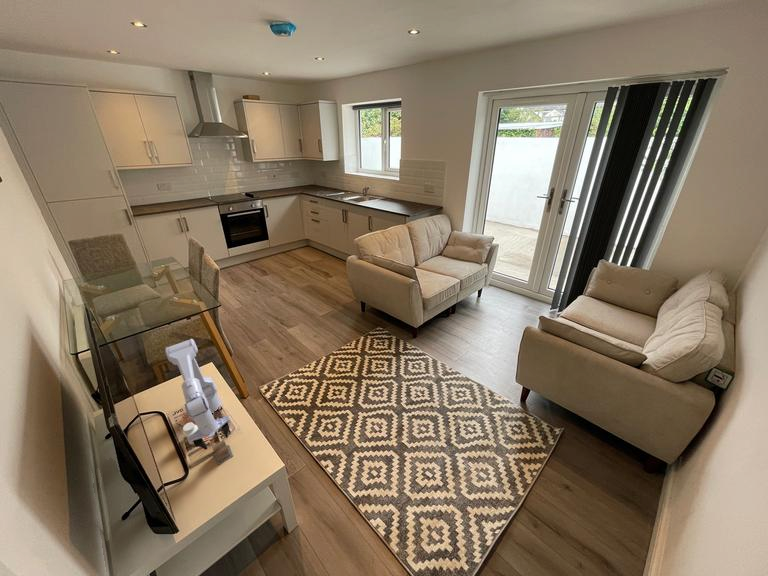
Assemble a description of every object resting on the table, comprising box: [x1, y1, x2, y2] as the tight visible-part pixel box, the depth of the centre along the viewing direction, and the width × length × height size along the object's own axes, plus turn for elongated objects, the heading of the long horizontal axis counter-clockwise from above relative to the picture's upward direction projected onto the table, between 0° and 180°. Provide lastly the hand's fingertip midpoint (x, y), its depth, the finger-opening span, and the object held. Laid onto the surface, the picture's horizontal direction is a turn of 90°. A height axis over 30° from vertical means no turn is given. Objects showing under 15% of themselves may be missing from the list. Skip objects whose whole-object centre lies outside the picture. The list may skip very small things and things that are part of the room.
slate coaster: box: [213, 444, 234, 466], centre depth 126 cm, size 6×6×1 cm
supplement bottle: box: [182, 421, 199, 446], centre depth 130 cm, size 5×5×10 cm
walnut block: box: [212, 439, 231, 462], centre depth 125 cm, size 4×4×6 cm
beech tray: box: [181, 429, 222, 469], centre depth 130 cm, size 15×13×2 cm
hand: (216, 441), depth 121 cm, fingers open, 7 cm apart
